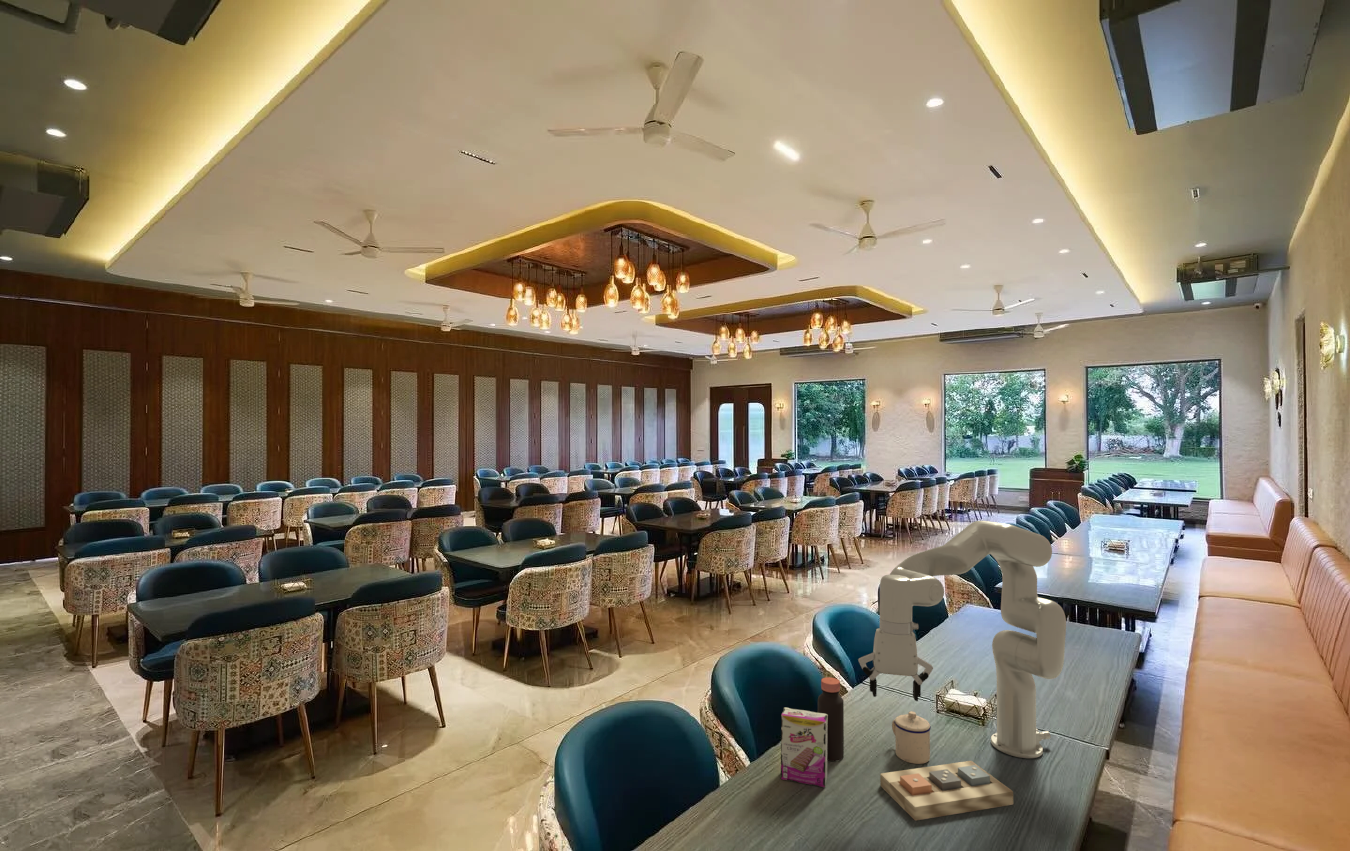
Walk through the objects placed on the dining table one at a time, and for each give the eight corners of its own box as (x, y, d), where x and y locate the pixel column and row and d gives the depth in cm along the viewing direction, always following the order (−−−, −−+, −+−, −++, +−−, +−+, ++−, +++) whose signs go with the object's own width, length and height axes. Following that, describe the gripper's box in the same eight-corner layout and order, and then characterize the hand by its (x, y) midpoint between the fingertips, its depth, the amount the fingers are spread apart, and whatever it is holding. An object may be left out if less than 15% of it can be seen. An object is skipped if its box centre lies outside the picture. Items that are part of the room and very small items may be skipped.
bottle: (845, 763, 162) (844, 686, 162) (818, 760, 163) (818, 684, 163) (842, 749, 168) (842, 676, 169) (817, 747, 170) (817, 674, 170)
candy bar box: (780, 780, 154) (780, 714, 154) (783, 770, 158) (783, 706, 158) (826, 789, 150) (825, 721, 150) (828, 778, 155) (827, 712, 155)
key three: (947, 781, 150) (947, 768, 150) (961, 793, 146) (961, 779, 146) (929, 784, 149) (929, 771, 149) (942, 795, 144) (942, 782, 144)
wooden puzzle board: (971, 772, 157) (971, 760, 157) (1013, 804, 144) (1013, 791, 144) (880, 785, 151) (880, 773, 151) (915, 820, 138) (915, 807, 138)
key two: (975, 777, 152) (975, 764, 152) (990, 788, 147) (989, 775, 147) (957, 779, 151) (957, 767, 151) (972, 791, 146) (972, 778, 146)
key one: (918, 785, 149) (918, 772, 149) (931, 797, 144) (931, 784, 144) (900, 788, 147) (900, 775, 147) (912, 800, 143) (912, 787, 143)
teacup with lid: (938, 760, 163) (938, 716, 163) (911, 768, 159) (911, 722, 159) (905, 740, 174) (905, 698, 174) (880, 746, 170) (879, 704, 171)
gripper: (929, 625, 153) (929, 694, 153) (857, 619, 157) (856, 687, 156) (936, 634, 146) (935, 707, 145) (860, 628, 149) (859, 699, 149)
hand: (894, 696), depth 151 cm, fingers open, 9 cm apart
